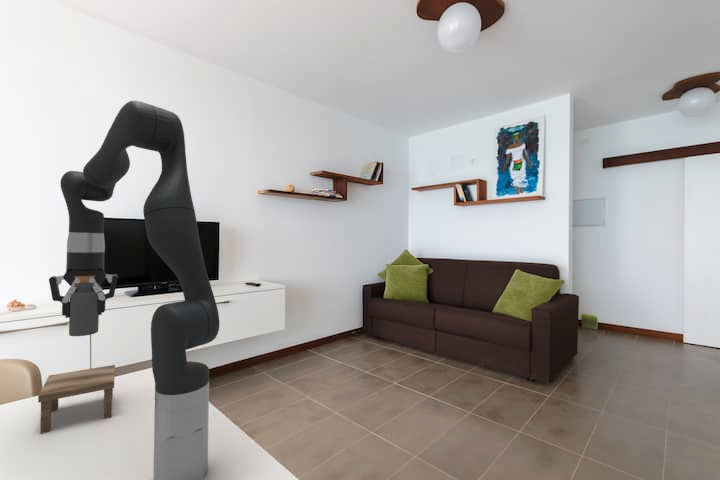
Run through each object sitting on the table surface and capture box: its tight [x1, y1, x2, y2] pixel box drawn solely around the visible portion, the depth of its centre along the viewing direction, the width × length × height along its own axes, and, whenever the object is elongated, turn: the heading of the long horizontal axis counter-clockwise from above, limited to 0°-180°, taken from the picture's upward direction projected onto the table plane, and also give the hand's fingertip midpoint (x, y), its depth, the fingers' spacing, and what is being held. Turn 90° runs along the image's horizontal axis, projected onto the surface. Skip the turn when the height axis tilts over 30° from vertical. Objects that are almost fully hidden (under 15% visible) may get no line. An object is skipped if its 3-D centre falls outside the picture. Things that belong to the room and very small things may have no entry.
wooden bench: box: [37, 364, 116, 434], centre depth 86 cm, size 14×14×9 cm
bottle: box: [68, 275, 100, 337], centre depth 86 cm, size 6×6×15 cm
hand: (84, 315), depth 86 cm, fingers closed on bottle, 6 cm apart
